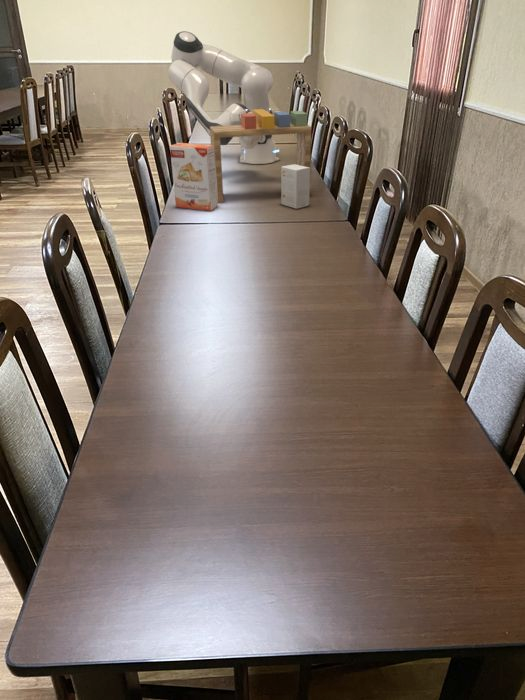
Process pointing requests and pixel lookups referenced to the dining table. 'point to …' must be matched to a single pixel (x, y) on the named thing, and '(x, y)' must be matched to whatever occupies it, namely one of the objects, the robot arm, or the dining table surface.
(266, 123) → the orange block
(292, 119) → the block
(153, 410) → the dining table surface
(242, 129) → the shelf
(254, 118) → the block
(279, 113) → the block
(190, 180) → the cracker box
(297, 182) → the small box
